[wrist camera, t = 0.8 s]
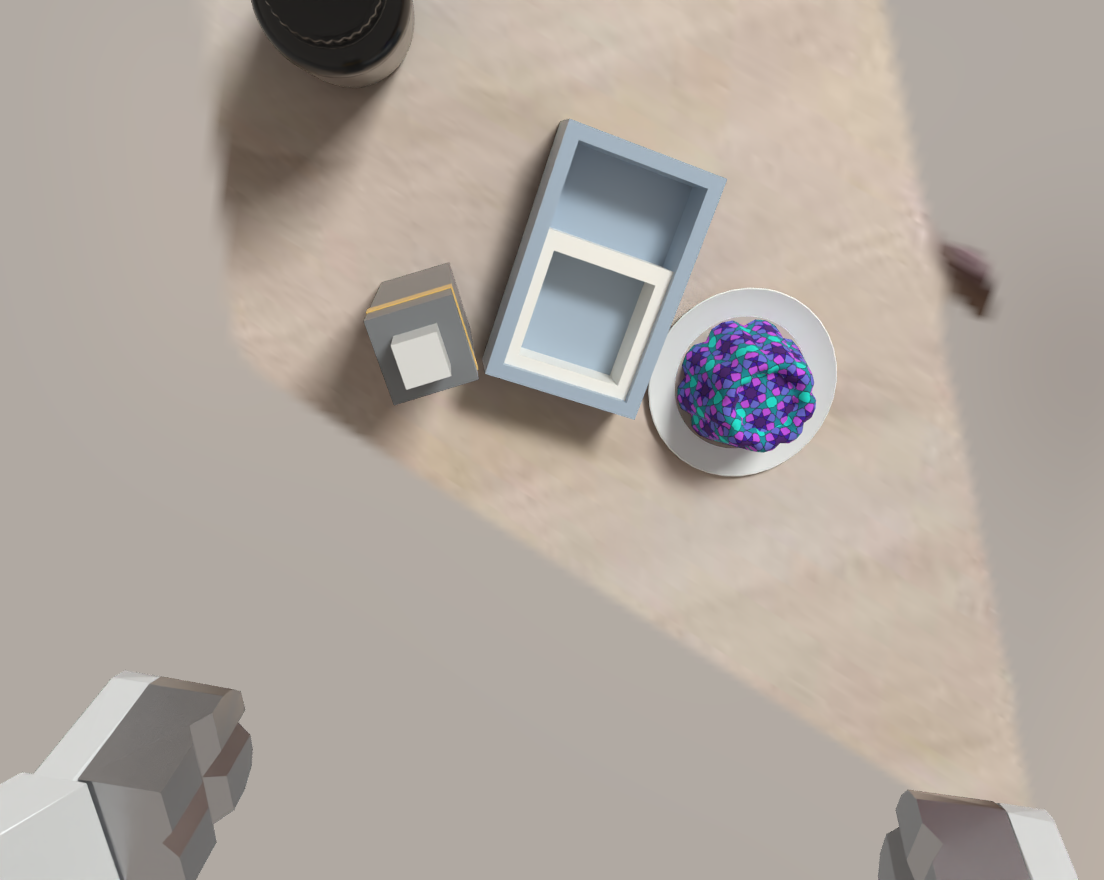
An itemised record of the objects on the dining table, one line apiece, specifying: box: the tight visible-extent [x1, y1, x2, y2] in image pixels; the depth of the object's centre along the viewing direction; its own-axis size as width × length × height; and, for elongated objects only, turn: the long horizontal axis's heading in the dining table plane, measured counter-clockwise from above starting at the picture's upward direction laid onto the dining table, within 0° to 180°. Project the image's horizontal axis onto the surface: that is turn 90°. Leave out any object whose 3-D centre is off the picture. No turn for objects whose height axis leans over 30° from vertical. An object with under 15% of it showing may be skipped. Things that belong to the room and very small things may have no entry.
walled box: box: [482, 119, 727, 420], centre depth 48 cm, size 14×9×4 cm, turn 161°
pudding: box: [648, 288, 837, 476], centre depth 51 cm, size 12×12×5 cm
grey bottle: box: [364, 262, 479, 405], centre depth 43 cm, size 4×4×14 cm
